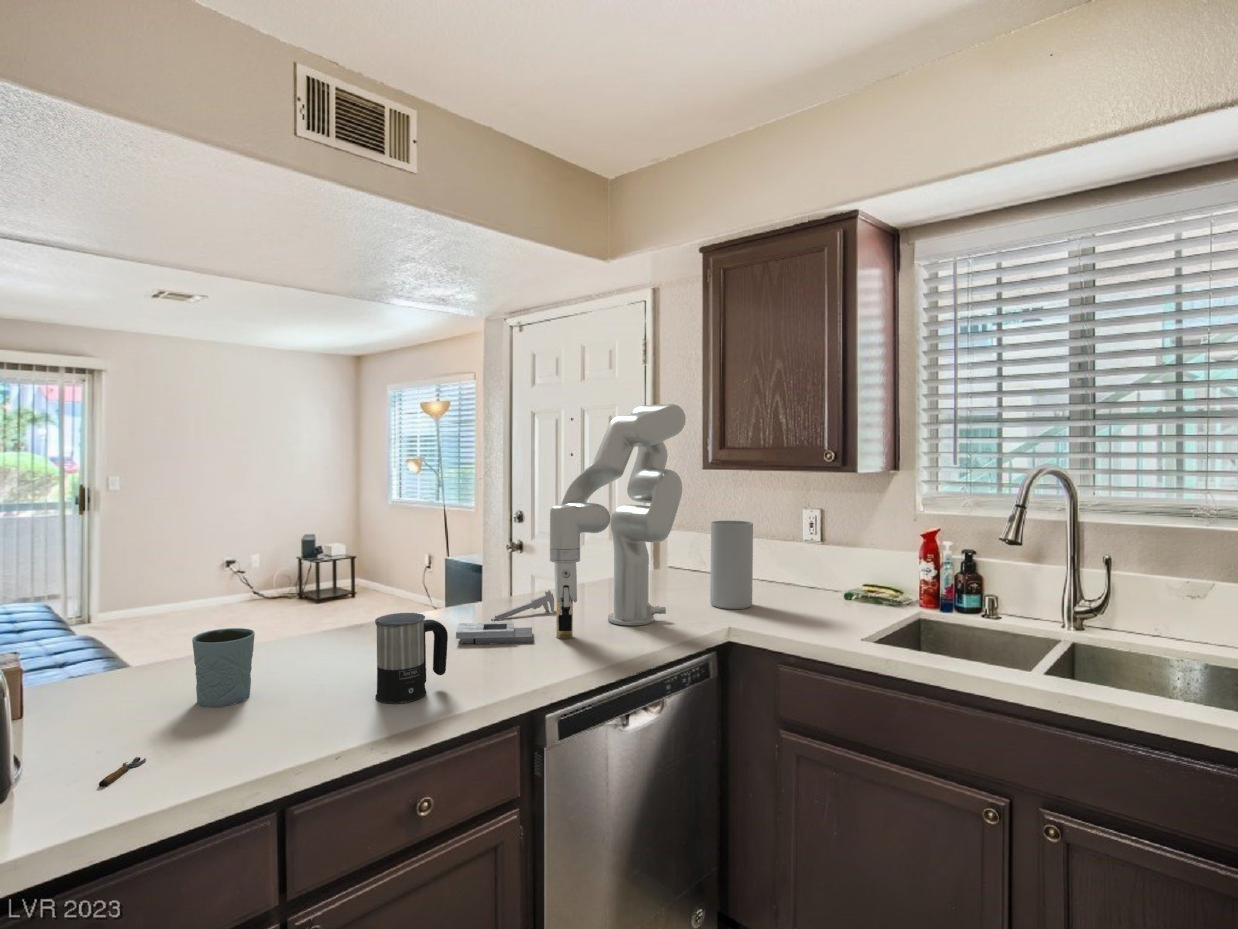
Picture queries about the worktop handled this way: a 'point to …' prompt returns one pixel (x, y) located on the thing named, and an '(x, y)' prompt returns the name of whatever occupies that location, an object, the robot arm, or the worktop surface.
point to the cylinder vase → (731, 564)
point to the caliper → (529, 606)
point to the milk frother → (406, 656)
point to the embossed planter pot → (223, 666)
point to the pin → (559, 633)
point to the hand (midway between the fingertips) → (564, 627)
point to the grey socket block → (493, 633)
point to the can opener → (120, 772)
